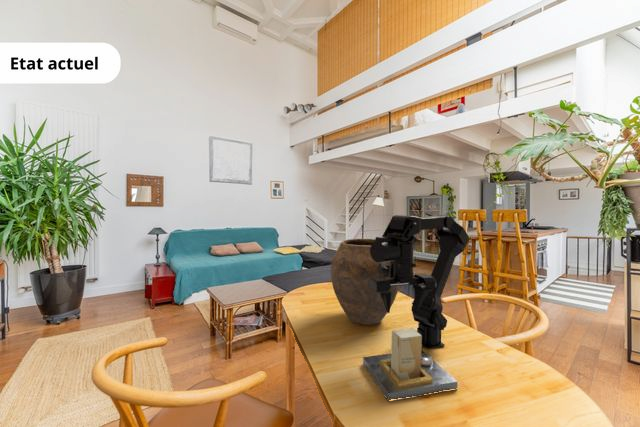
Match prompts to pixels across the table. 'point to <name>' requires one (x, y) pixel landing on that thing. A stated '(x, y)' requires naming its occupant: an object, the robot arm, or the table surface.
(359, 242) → the vase
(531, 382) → the table surface
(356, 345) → the table surface
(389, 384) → the grey slotted board
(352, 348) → the table surface
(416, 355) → the skincare box
